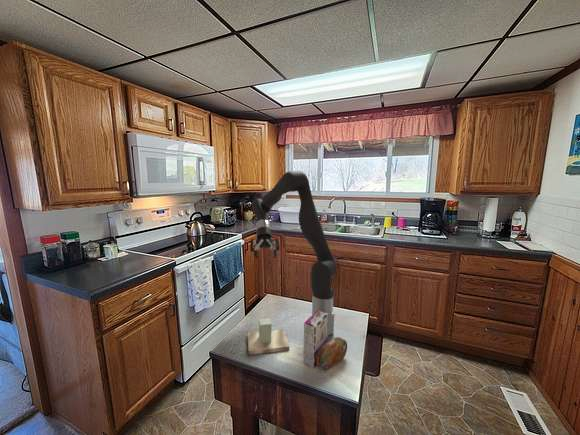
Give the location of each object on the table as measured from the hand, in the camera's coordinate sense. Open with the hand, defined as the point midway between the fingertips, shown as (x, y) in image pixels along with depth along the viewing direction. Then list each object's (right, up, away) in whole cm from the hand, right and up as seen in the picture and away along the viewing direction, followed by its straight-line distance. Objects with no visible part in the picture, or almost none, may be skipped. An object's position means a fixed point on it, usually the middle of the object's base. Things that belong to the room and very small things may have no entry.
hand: (265, 258), depth 117 cm
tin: (+27, -35, -25) cm, 51 cm away
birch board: (+2, -33, -14) cm, 36 cm away
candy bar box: (+21, -34, -23) cm, 46 cm away
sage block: (+1, -31, -15) cm, 35 cm away
